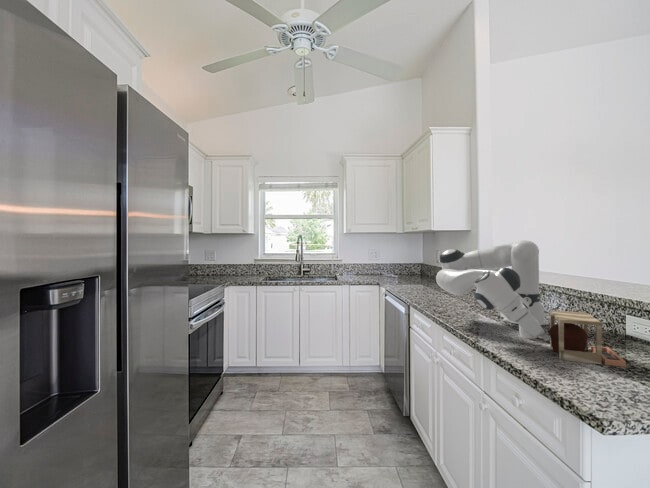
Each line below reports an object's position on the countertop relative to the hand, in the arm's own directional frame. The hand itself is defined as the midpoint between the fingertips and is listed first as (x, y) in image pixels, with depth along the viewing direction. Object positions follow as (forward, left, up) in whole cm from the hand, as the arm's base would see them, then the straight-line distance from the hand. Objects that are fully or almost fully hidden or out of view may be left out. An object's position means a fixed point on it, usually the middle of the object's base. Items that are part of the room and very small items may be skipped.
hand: (547, 339), depth 120 cm
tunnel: (0, +8, -4) cm, 9 cm away
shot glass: (-19, -4, -5) cm, 20 cm away
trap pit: (0, +17, -4) cm, 17 cm away
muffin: (-1, +6, -4) cm, 7 cm away
